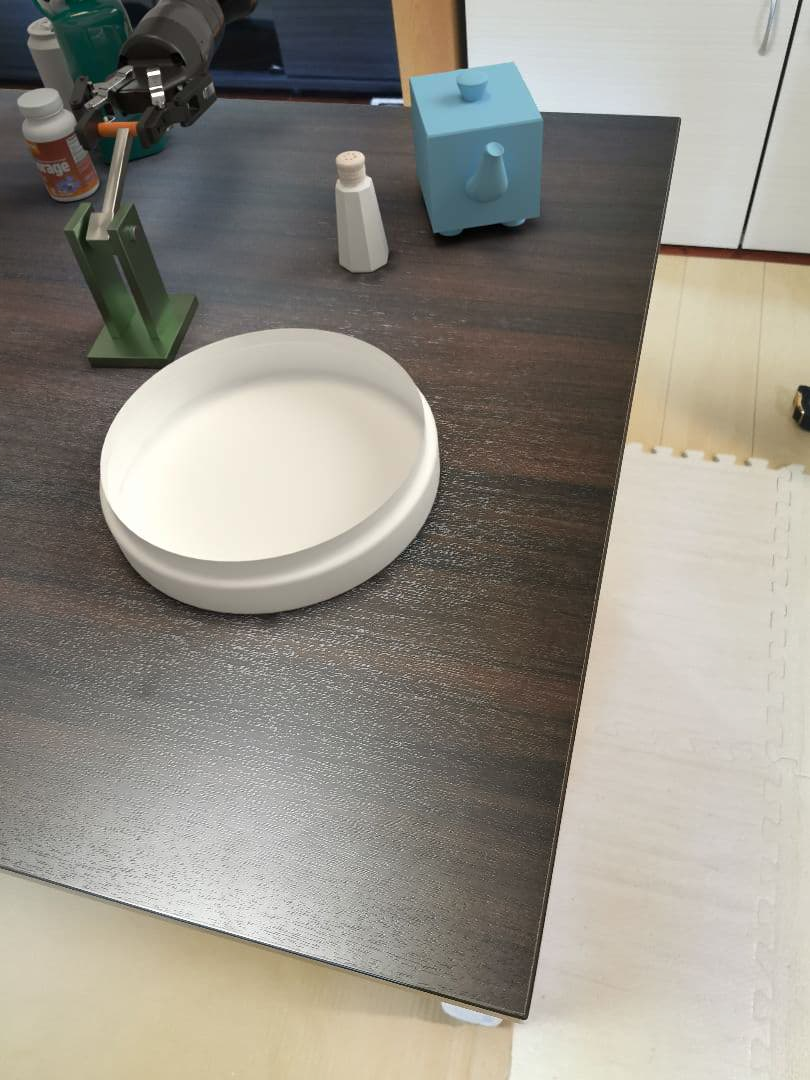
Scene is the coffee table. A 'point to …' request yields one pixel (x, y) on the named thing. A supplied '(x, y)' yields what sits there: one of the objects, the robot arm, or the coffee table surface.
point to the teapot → (477, 147)
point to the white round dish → (270, 470)
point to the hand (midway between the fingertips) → (113, 139)
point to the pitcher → (94, 50)
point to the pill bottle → (56, 146)
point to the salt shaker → (358, 217)
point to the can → (50, 60)
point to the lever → (111, 185)
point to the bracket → (130, 319)
